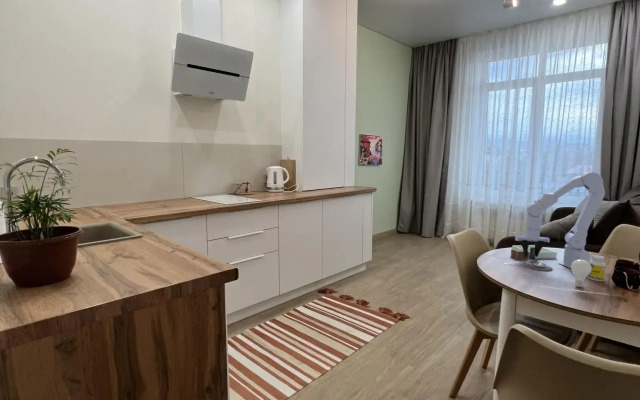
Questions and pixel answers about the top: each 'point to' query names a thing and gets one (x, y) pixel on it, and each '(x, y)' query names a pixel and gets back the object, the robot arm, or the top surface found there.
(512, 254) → the brown wooden block
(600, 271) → the supplement bottle
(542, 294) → the top surface
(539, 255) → the tray
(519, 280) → the top surface
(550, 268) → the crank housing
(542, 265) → the crank
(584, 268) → the lightbulb
